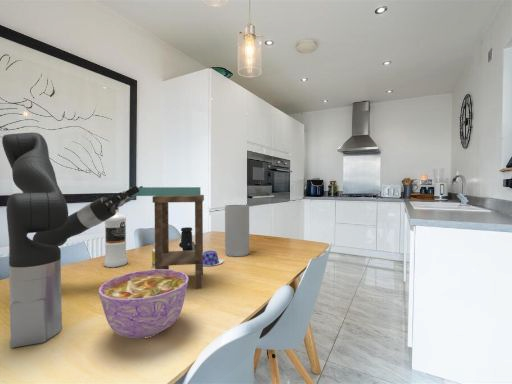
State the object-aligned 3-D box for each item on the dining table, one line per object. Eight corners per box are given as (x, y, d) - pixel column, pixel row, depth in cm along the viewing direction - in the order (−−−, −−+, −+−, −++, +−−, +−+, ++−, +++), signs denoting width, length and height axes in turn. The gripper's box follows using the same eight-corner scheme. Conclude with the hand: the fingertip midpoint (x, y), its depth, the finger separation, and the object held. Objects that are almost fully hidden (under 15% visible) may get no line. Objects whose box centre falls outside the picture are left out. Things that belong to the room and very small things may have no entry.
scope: (194, 229, 127) (175, 229, 129) (194, 258, 127) (175, 257, 129) (201, 227, 135) (183, 226, 137) (201, 254, 135) (183, 253, 137)
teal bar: (129, 196, 90) (129, 187, 90) (131, 195, 93) (131, 187, 93) (200, 195, 94) (200, 187, 94) (200, 195, 97) (200, 187, 97)
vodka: (117, 260, 123) (117, 197, 122) (132, 263, 119) (131, 197, 119) (99, 266, 114) (98, 197, 114) (114, 268, 111) (113, 198, 110)
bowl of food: (161, 303, 78) (161, 264, 78) (205, 326, 65) (205, 279, 65) (85, 332, 62) (84, 284, 62) (123, 369, 50) (122, 309, 49)
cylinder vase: (221, 255, 131) (220, 206, 131) (230, 250, 143) (230, 204, 143) (244, 257, 128) (244, 206, 127) (252, 251, 140) (252, 205, 139)
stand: (153, 292, 86) (152, 196, 86) (162, 275, 102) (161, 195, 101) (202, 288, 89) (202, 196, 88) (204, 273, 105) (203, 194, 104)
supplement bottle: (160, 267, 112) (160, 245, 112) (149, 267, 113) (149, 244, 113) (167, 264, 117) (167, 242, 117) (156, 263, 118) (156, 242, 118)
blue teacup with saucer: (198, 268, 112) (198, 256, 112) (195, 260, 124) (195, 249, 123) (225, 265, 116) (225, 253, 116) (220, 258, 127) (220, 248, 127)
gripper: (80, 204, 83) (128, 178, 85) (99, 202, 97) (140, 179, 99) (93, 224, 83) (141, 198, 86) (110, 219, 98) (151, 196, 100)
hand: (140, 188), depth 92 cm, fingers open, 7 cm apart
